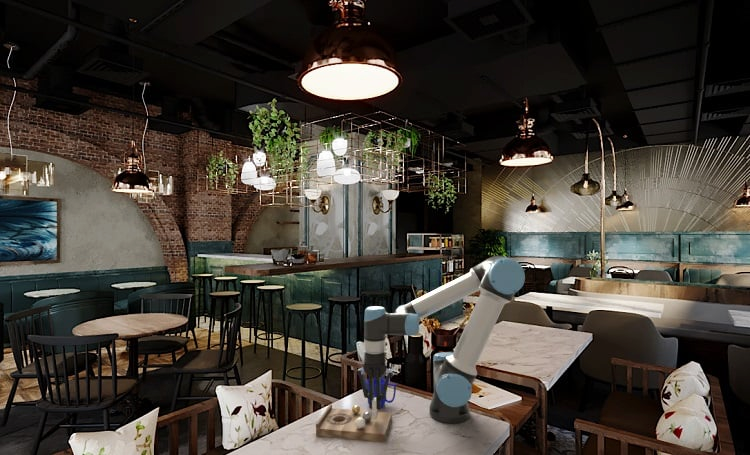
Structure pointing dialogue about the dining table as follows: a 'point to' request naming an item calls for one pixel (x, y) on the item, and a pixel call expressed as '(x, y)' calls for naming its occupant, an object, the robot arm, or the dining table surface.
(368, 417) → the steel ball
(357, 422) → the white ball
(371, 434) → the deck
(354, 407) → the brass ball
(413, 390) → the dining table surface
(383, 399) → the mug
